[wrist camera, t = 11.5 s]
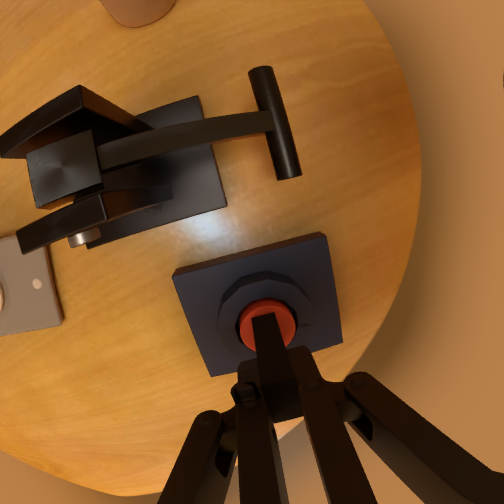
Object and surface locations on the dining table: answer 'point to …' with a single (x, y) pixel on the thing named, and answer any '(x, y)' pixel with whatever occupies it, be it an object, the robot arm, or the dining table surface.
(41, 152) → the switch lever
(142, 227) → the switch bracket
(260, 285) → the control block
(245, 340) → the power button
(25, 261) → the light switch
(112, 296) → the dining table surface
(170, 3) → the candle
